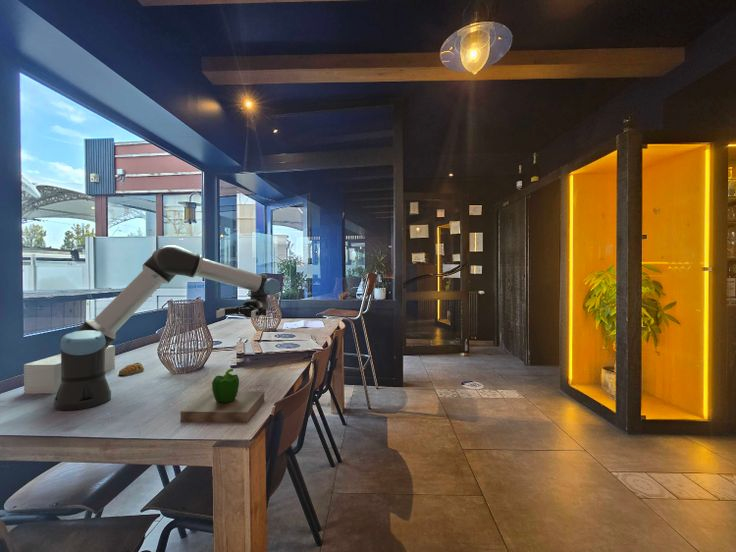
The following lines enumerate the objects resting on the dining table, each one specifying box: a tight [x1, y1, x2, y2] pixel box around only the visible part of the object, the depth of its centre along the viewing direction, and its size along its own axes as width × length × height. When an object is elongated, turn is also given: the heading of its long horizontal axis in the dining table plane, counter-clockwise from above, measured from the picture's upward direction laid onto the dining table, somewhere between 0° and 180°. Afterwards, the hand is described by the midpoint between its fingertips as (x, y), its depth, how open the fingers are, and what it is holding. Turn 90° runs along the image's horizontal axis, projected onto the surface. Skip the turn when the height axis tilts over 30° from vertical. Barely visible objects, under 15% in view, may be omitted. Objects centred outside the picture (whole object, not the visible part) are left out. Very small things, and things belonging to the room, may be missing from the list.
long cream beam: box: [23, 344, 116, 395], centre depth 144 cm, size 32×11×11 cm, turn 2°
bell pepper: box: [211, 368, 240, 403], centre depth 116 cm, size 8×8×10 cm
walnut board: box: [179, 390, 265, 423], centre depth 116 cm, size 20×18×3 cm
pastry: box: [118, 362, 145, 377], centre depth 154 cm, size 9×7×4 cm
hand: (234, 314), depth 139 cm, fingers open, 13 cm apart
